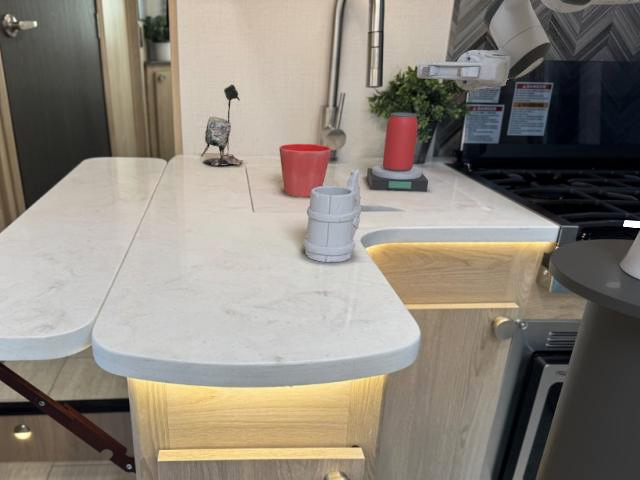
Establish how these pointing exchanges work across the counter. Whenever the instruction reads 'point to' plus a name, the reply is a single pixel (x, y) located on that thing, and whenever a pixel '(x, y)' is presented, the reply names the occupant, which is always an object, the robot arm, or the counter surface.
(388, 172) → the kitchen scale
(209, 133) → the grey tall irregular piece
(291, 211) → the counter surface
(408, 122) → the beer can
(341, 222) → the mug
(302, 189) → the flower pot
